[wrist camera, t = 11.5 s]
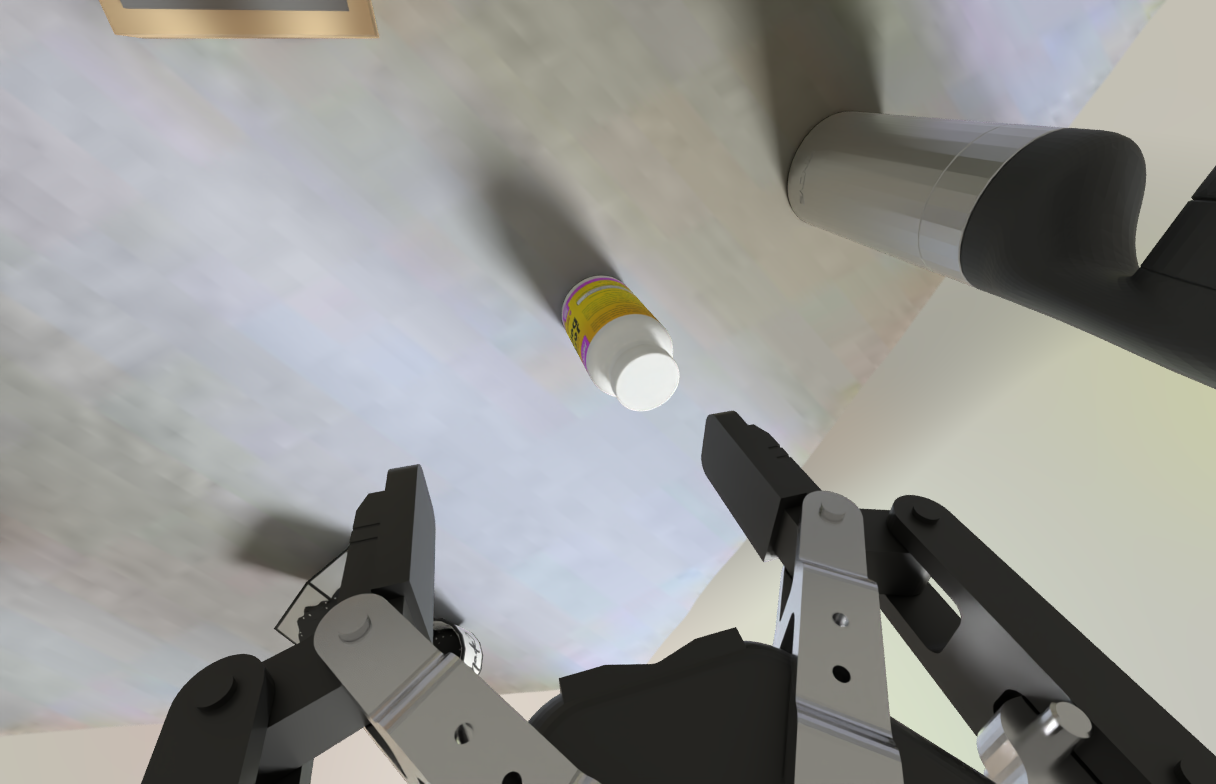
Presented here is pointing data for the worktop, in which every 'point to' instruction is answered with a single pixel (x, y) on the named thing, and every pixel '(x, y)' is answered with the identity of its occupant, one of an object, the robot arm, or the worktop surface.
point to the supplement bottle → (620, 343)
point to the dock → (241, 18)
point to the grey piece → (323, 597)
